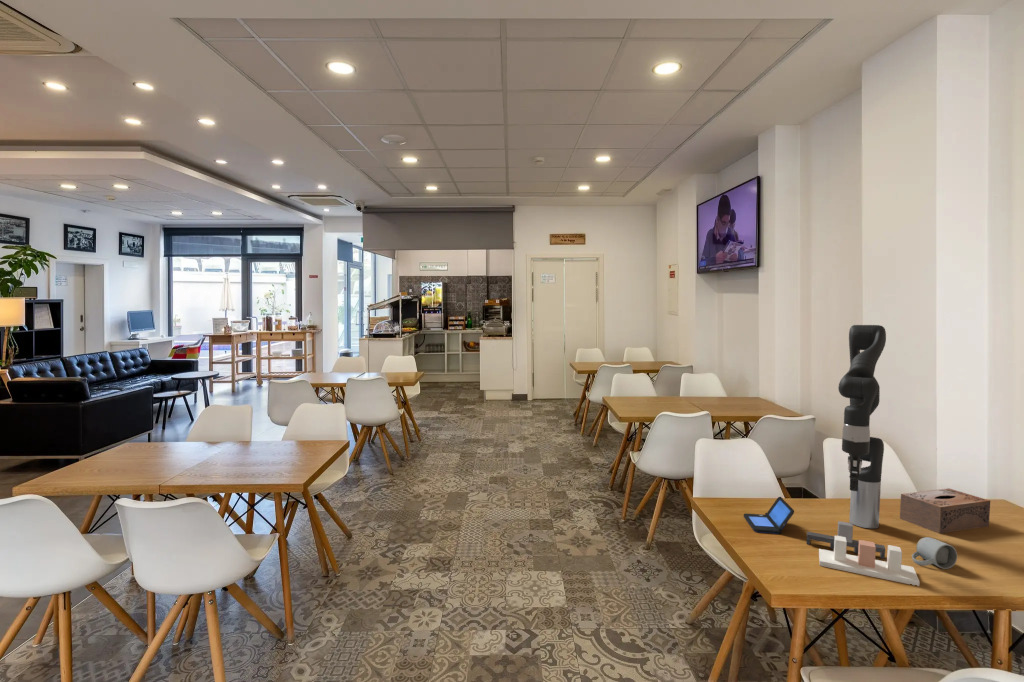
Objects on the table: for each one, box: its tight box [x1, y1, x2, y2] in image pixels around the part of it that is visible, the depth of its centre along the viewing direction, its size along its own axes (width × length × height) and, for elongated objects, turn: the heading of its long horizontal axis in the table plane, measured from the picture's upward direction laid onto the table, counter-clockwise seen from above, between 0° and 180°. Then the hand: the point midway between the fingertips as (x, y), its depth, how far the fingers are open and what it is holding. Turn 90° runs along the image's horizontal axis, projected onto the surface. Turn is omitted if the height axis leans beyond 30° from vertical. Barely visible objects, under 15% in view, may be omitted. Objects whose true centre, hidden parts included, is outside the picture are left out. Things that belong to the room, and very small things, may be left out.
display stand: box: [818, 535, 920, 587], centre depth 164 cm, size 10×25×8 cm, turn 61°
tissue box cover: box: [899, 487, 991, 534], centre depth 202 cm, size 26×14×10 cm, turn 107°
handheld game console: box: [743, 496, 795, 535], centre depth 197 cm, size 16×13×9 cm
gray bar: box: [806, 520, 886, 560], centre depth 177 cm, size 3×22×9 cm, turn 61°
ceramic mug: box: [911, 536, 958, 570], centre depth 168 cm, size 11×8×8 cm
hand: (853, 486), depth 174 cm, fingers open, 8 cm apart
